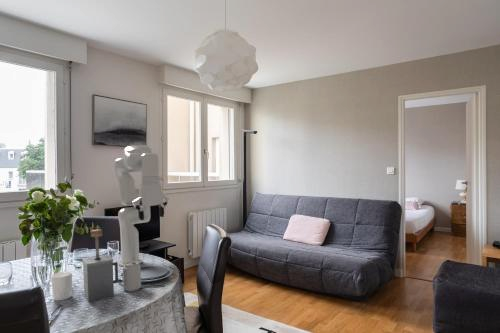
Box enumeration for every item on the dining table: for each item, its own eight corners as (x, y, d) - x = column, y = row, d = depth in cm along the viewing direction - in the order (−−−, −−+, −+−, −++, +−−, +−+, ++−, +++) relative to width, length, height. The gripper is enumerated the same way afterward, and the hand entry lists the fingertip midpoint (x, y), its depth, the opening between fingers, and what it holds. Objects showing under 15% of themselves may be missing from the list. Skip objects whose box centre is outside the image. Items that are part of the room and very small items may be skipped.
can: (144, 288, 151) (143, 262, 151) (128, 293, 146) (127, 266, 146) (136, 284, 156) (135, 259, 156) (120, 289, 151) (119, 263, 151)
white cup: (58, 302, 138) (57, 278, 138) (48, 299, 142) (47, 275, 142) (76, 295, 145) (75, 273, 145) (66, 292, 149) (65, 270, 149)
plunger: (91, 263, 145) (90, 230, 145) (102, 261, 147) (101, 228, 147) (93, 265, 141) (92, 232, 141) (104, 263, 144) (103, 230, 144)
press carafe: (83, 294, 146) (82, 258, 146) (115, 287, 154) (114, 252, 153) (88, 302, 137) (86, 264, 137) (121, 294, 145) (120, 258, 145)
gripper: (163, 179, 160) (164, 214, 160) (128, 181, 148) (129, 219, 148) (171, 179, 154) (172, 216, 155) (135, 182, 142) (137, 222, 143)
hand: (151, 218), depth 152 cm, fingers open, 9 cm apart
